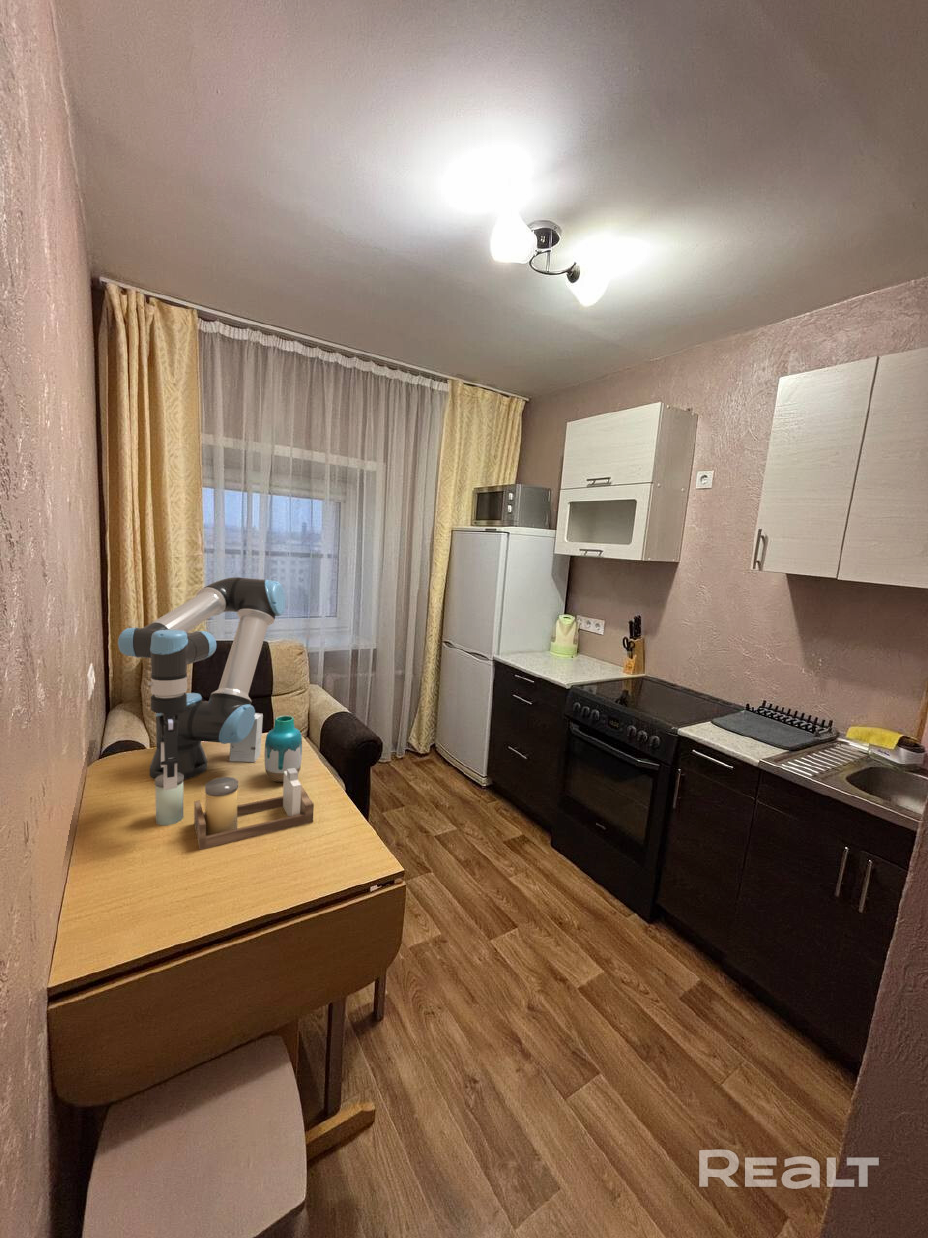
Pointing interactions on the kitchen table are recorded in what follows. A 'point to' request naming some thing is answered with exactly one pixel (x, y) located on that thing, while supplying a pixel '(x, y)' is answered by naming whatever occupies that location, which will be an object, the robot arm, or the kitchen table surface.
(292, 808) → the plate
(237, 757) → the skincare box
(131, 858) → the kitchen table surface
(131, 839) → the kitchen table surface
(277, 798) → the wooden spice rack
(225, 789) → the amber jar
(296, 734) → the vase
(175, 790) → the sage jar
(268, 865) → the kitchen table surface
